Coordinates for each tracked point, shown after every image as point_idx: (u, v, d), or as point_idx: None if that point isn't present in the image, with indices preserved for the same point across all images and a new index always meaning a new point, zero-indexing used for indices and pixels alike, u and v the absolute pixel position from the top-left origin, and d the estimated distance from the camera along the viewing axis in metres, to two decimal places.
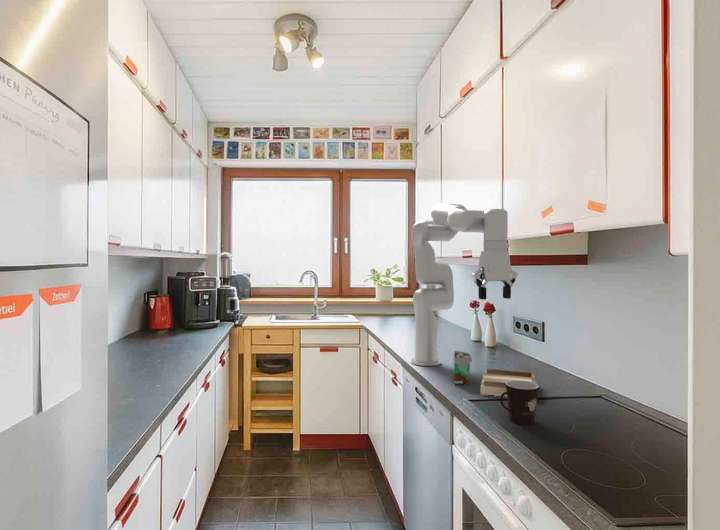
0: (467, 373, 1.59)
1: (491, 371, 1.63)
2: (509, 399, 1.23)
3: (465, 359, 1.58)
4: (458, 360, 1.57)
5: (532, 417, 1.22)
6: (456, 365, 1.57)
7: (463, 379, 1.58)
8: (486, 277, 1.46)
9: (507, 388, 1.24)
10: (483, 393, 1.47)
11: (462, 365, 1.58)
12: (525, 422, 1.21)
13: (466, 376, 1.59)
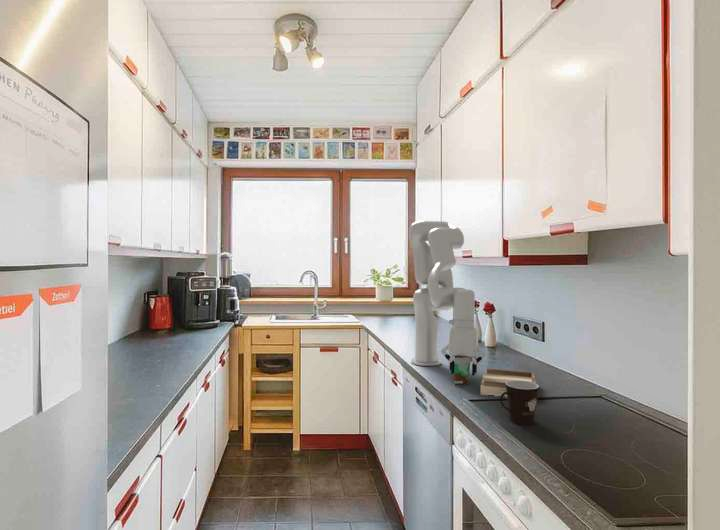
0: (467, 373, 1.59)
1: (491, 371, 1.63)
2: (509, 399, 1.23)
3: (465, 359, 1.58)
4: (458, 360, 1.57)
5: (532, 417, 1.22)
6: (456, 365, 1.57)
7: (463, 379, 1.58)
8: None
9: (507, 388, 1.24)
10: (483, 393, 1.47)
11: (462, 365, 1.58)
12: (525, 422, 1.21)
13: (466, 376, 1.59)
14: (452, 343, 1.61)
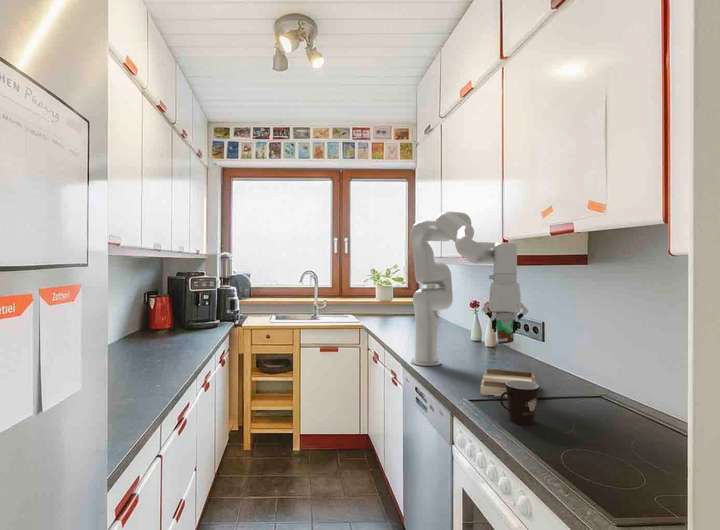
0: (511, 330, 1.50)
1: (491, 371, 1.63)
2: (509, 399, 1.23)
3: (508, 315, 1.49)
4: (500, 316, 1.48)
5: (532, 417, 1.22)
6: (499, 322, 1.49)
7: (507, 336, 1.49)
8: None
9: (507, 388, 1.24)
10: (483, 393, 1.47)
11: (505, 321, 1.49)
12: (525, 422, 1.21)
13: (510, 333, 1.50)
14: (494, 299, 1.52)
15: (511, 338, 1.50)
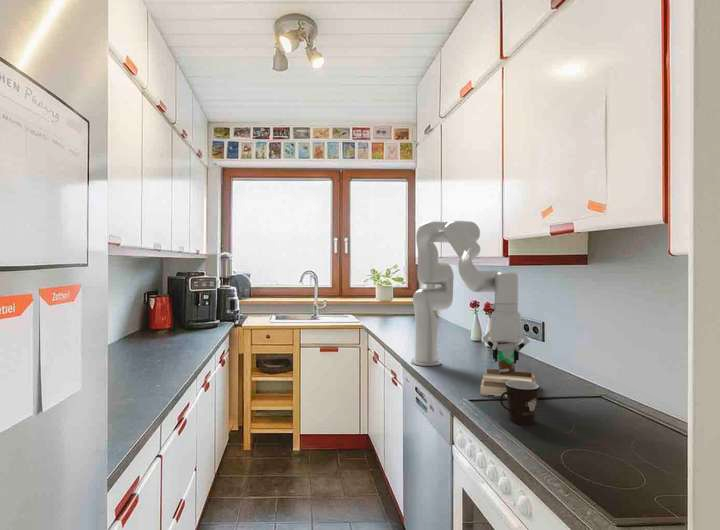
0: (512, 360, 1.50)
1: (491, 371, 1.63)
2: (509, 399, 1.23)
3: (509, 345, 1.49)
4: (501, 347, 1.48)
5: (532, 417, 1.22)
6: (500, 352, 1.49)
7: (508, 366, 1.49)
8: None
9: (507, 388, 1.24)
10: (483, 393, 1.47)
11: (506, 352, 1.49)
12: (525, 422, 1.21)
13: (512, 363, 1.50)
14: (495, 329, 1.52)
15: (512, 368, 1.50)
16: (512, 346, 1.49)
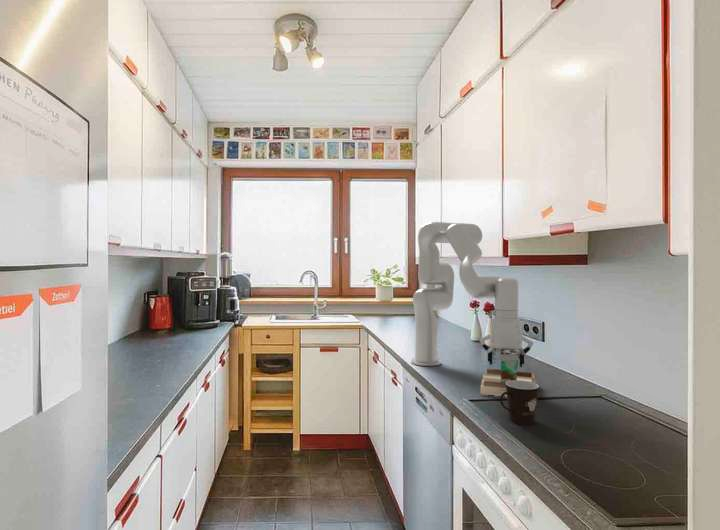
0: (515, 371, 1.50)
1: (491, 371, 1.63)
2: (509, 399, 1.23)
3: (512, 356, 1.49)
4: (505, 357, 1.48)
5: (532, 417, 1.22)
6: (503, 362, 1.49)
7: (510, 377, 1.50)
8: None
9: (507, 388, 1.24)
10: (483, 393, 1.47)
11: (509, 362, 1.49)
12: (525, 422, 1.21)
13: (514, 374, 1.50)
14: (495, 335, 1.52)
15: (514, 379, 1.51)
16: (516, 357, 1.49)
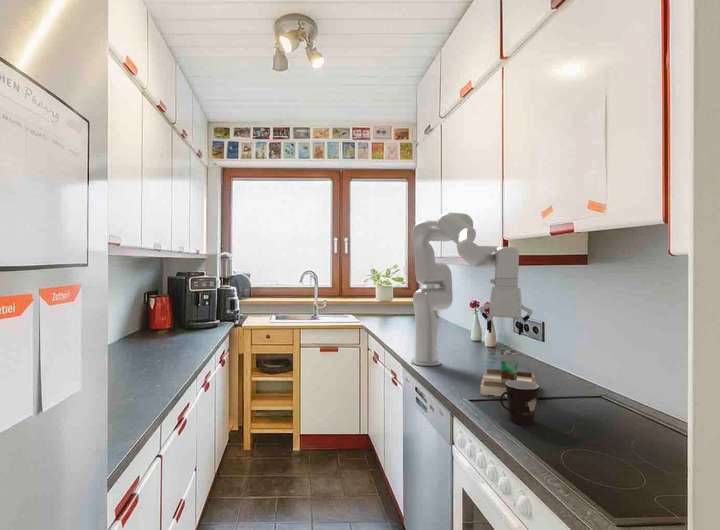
0: (515, 371, 1.50)
1: (491, 371, 1.63)
2: (509, 399, 1.23)
3: (513, 356, 1.49)
4: (505, 357, 1.48)
5: (532, 417, 1.22)
6: (503, 362, 1.49)
7: (510, 377, 1.50)
8: None
9: (507, 388, 1.24)
10: (483, 393, 1.47)
11: (510, 362, 1.49)
12: (525, 422, 1.21)
13: (514, 374, 1.50)
14: (494, 303, 1.52)
15: (514, 379, 1.51)
16: (516, 357, 1.49)
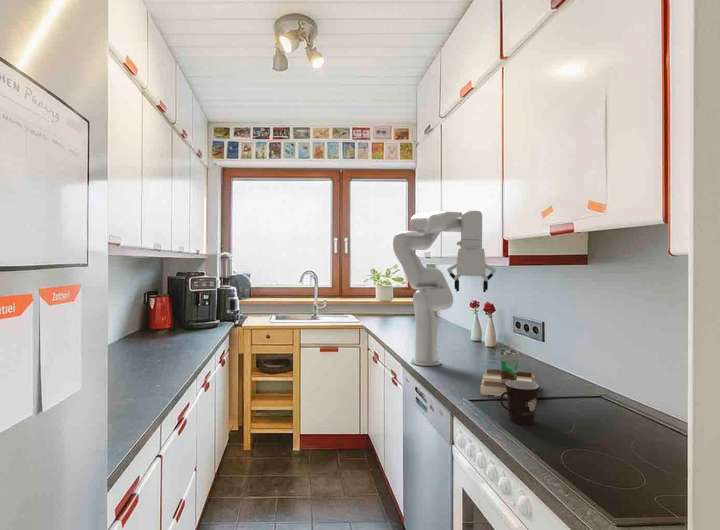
0: (515, 371, 1.50)
1: (491, 371, 1.63)
2: (509, 399, 1.23)
3: (513, 356, 1.49)
4: (505, 357, 1.48)
5: (532, 417, 1.22)
6: (503, 362, 1.49)
7: (510, 377, 1.50)
8: None
9: (507, 388, 1.24)
10: (483, 393, 1.47)
11: (510, 362, 1.49)
12: (525, 422, 1.21)
13: (514, 374, 1.50)
14: (460, 263, 1.64)
15: (514, 379, 1.51)
16: (516, 357, 1.49)
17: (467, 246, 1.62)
